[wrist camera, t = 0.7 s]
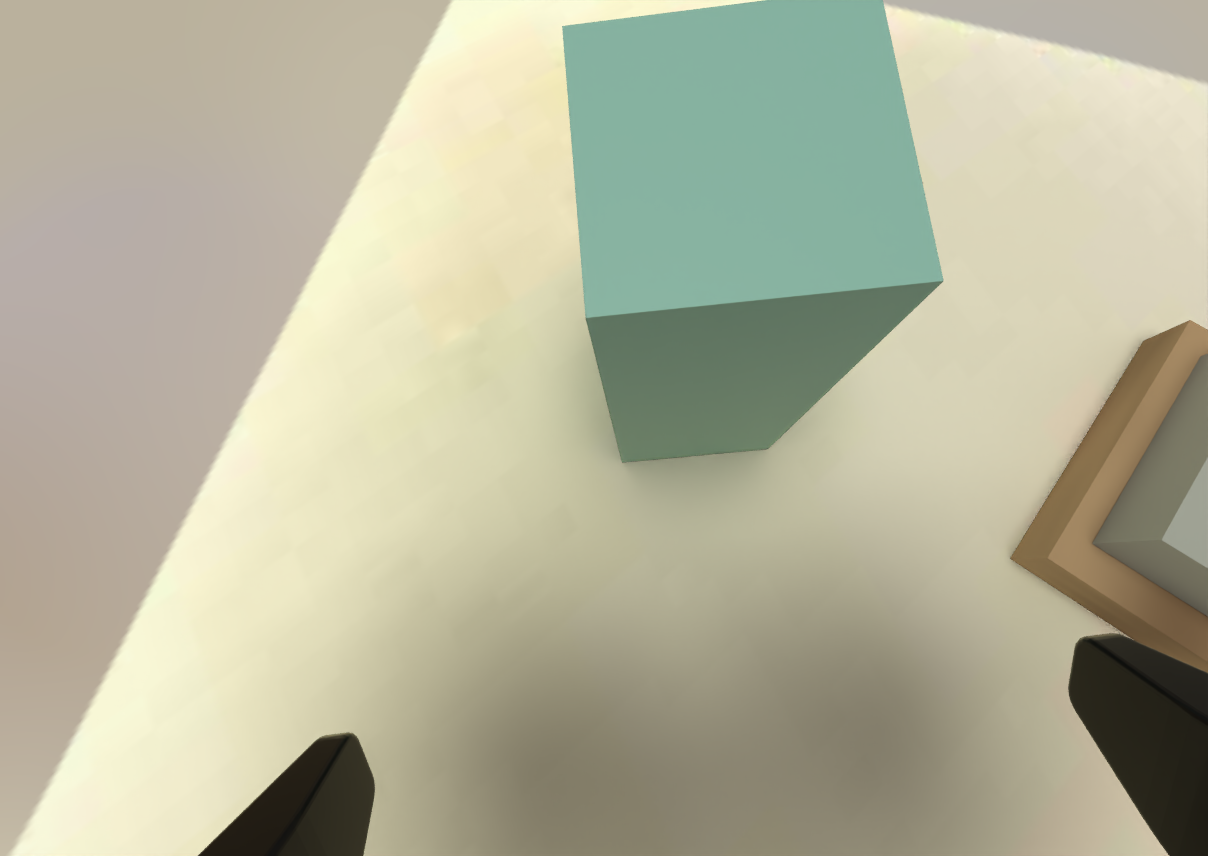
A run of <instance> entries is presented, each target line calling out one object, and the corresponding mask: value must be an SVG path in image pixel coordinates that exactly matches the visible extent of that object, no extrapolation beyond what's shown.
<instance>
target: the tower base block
mask: <svg viewBox="0 0 1208 856" xmlns="http://www.w3.org/2000/svg"><path fill="white" fill-rule="evenodd" d="M1206 354H1208V330H1207V329H1205V328H1203V327H1202V326H1200V325H1198V324H1196V323H1194V322H1193V321H1191V320H1189V321H1187V322H1185V323H1183V324H1180V325H1178V326H1176V327H1174V328H1171V329H1169V330H1167V331H1165V332H1162V333H1160V334H1158V335H1156V336H1154V337H1151V338H1149V339H1147V340H1145V341H1143V343H1142V344H1141V346H1140V347H1139V349H1138V351H1137V352H1136V354H1135V356H1134V357H1133V359H1132V361H1131V362H1130V364H1129V365H1128V367H1127V369H1126V370H1125V372H1124V374H1123V375H1122V377H1121V378H1120V380H1119V382H1118V383H1117V385H1116V387H1115V388H1114V390H1113V392H1112V393H1111V395H1110V396H1109V398H1108V400H1107V401H1106V403H1105V405H1104V406H1103V408H1102V410H1101V411H1100V413H1099V414H1098V416H1097V418H1096V419H1095V421H1094V423H1093V424H1092V426H1091V428H1090V429H1089V431H1088V432H1087V434H1086V436H1085V437H1084V439H1083V441H1082V442H1081V444H1080V445H1079V447H1078V449H1077V450H1076V452H1075V454H1074V455H1073V457H1072V459H1071V460H1070V462H1069V463H1068V465H1067V467H1066V468H1065V470H1064V472H1063V473H1062V475H1061V477H1060V478H1059V480H1058V481H1057V483H1056V485H1055V486H1054V488H1053V490H1052V491H1051V493H1050V494H1049V496H1048V498H1047V499H1046V501H1045V503H1044V504H1043V506H1042V508H1041V509H1040V511H1039V512H1038V514H1037V516H1036V517H1035V519H1034V521H1033V522H1032V524H1031V526H1030V527H1029V529H1028V530H1027V532H1026V534H1025V535H1024V537H1023V539H1022V540H1021V542H1020V543H1019V545H1018V547H1017V548H1016V550H1015V552H1014V553H1013V555H1012V557H1011V558H1010V559H1012V560H1013V561H1015V562H1016V563H1018V564H1019V565H1021V566H1022V567H1024V568H1025V569H1027V570H1028V571H1030V572H1031V573H1033V574H1034V575H1036V576H1038V577H1039V578H1041V579H1042V580H1044V581H1045V582H1047V583H1048V584H1050V585H1051V586H1053V587H1054V588H1056V589H1057V590H1059V591H1060V592H1062V593H1063V594H1065V595H1067V596H1068V597H1070V598H1071V599H1073V600H1074V601H1076V602H1077V603H1079V604H1080V605H1082V606H1083V607H1085V608H1086V609H1088V610H1089V611H1091V612H1092V613H1094V614H1095V615H1097V616H1099V617H1100V618H1102V619H1103V620H1105V621H1106V622H1108V623H1109V624H1111V625H1112V626H1114V627H1115V628H1117V629H1118V630H1120V631H1121V632H1123V633H1124V634H1126V635H1128V636H1129V637H1131V638H1132V639H1134V640H1135V641H1137V642H1139V643H1141V644H1144V645H1146V646H1148V647H1150V648H1153V649H1155V650H1157V651H1159V652H1162V653H1164V654H1166V655H1169V656H1171V657H1173V658H1175V659H1178V660H1180V661H1182V662H1185V663H1187V664H1189V665H1191V666H1194V667H1196V668H1198V669H1200V670H1203V671H1205V672H1207V673H1208V616H1206V615H1204V614H1203V613H1201V612H1200V611H1198V610H1197V609H1195V608H1193V607H1192V606H1190V605H1189V604H1187V603H1185V602H1184V601H1182V600H1181V599H1179V598H1177V597H1176V596H1174V595H1173V594H1171V593H1170V592H1168V591H1166V590H1165V589H1163V588H1162V587H1160V586H1158V585H1157V584H1155V583H1154V582H1152V581H1151V580H1149V579H1147V578H1146V577H1144V576H1143V575H1141V574H1139V573H1138V572H1136V571H1135V570H1133V569H1131V568H1130V567H1128V566H1127V565H1125V564H1124V563H1122V562H1120V561H1119V560H1117V559H1116V558H1114V557H1112V556H1111V555H1109V554H1108V553H1106V552H1104V551H1103V550H1101V549H1100V548H1098V547H1097V546H1095V545H1093V544H1092V543H1093V541H1094V540H1095V538H1096V536H1097V534H1098V533H1099V531H1100V529H1101V527H1102V526H1103V524H1104V522H1105V521H1106V519H1107V517H1108V515H1109V514H1110V512H1111V510H1112V508H1113V507H1114V505H1115V503H1116V502H1117V500H1118V498H1119V496H1120V495H1121V493H1122V491H1123V489H1124V488H1125V486H1126V484H1127V483H1128V481H1129V479H1130V477H1131V476H1132V474H1133V472H1134V470H1135V469H1136V467H1137V465H1138V464H1139V462H1140V460H1141V458H1142V457H1143V455H1144V453H1145V451H1146V450H1147V448H1148V446H1149V445H1150V443H1151V441H1152V439H1153V438H1154V436H1155V434H1156V432H1157V431H1158V429H1159V427H1160V426H1161V424H1162V422H1163V420H1164V419H1165V417H1166V415H1167V413H1168V412H1169V410H1170V408H1171V407H1172V405H1173V403H1174V401H1175V400H1176V398H1177V396H1178V394H1179V393H1180V391H1181V389H1182V388H1183V386H1184V384H1185V382H1186V381H1187V379H1188V377H1189V375H1190V374H1191V372H1192V370H1193V369H1194V367H1195V365H1196V363H1197V362H1198V360H1199V358H1200V357H1201V356H1203V355H1206Z"/></svg>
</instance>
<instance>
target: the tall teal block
mask: <svg viewBox="0 0 1208 856" xmlns="http://www.w3.org/2000/svg"><path fill="white" fill-rule="evenodd" d="M562 28H563V41H564V53H565V66H566V78H567V91H568V103H569V115H570V128H571V140H572V153H573V165H574V178H575V190H576V203H577V215H578V228H579V240H580V253H581V265H582V278H583V290H584V303H585V315H586V321H587V325H588V329H589V333H590V337H591V341H592V345H593V349H594V353H595V357H596V361H597V365H598V369H599V373H600V377H601V381H602V385H603V389H604V393H605V397H606V401H607V405H608V408H609V412H610V416H611V420H612V424H613V428H614V432H615V436H616V440H617V444H618V448H619V452H620V456H621V460H622V462H632V461H643V460H654V459H665V458H676V457H687V456H698V455H709V454H720V453H730V452H741V451H752V450H763V449H768V448H769V447H770V446H771V445H772V444H774V443H775V442H776V441H777V440H778V439H779V438H780V437H781V436H782V435H783V434H784V433H785V432H786V431H787V430H788V429H789V428H790V427H791V426H792V425H793V424H794V423H795V422H797V421H798V420H799V419H800V418H801V417H802V416H803V415H804V414H805V413H806V412H807V411H808V410H809V409H810V408H811V407H812V406H813V405H814V404H815V403H816V402H817V401H818V400H820V399H821V398H822V397H823V396H824V395H825V394H826V393H827V392H828V391H829V390H830V389H831V388H832V387H833V386H834V385H835V384H836V383H837V382H838V381H839V380H840V379H841V378H843V377H844V376H845V375H846V374H847V373H848V372H849V371H850V370H851V369H852V368H853V367H854V366H855V365H856V364H857V363H858V362H859V361H860V360H861V359H862V358H863V357H864V356H866V355H867V354H868V353H869V352H870V351H871V350H872V349H873V348H874V347H875V346H876V345H877V344H878V343H879V342H880V341H881V340H882V339H883V338H884V337H885V336H886V335H887V334H889V333H890V332H891V331H892V330H893V329H894V328H895V327H896V326H897V325H898V324H899V323H900V322H901V321H902V320H903V319H904V318H905V317H906V316H907V315H908V314H909V313H910V312H912V311H913V310H914V309H915V308H916V307H917V306H918V305H919V304H920V303H921V302H922V301H923V300H924V299H925V298H926V297H927V296H928V295H929V294H930V293H931V292H932V291H934V290H935V289H936V288H937V287H938V286H939V285H940V284H941V283H942V282H943V276H942V272H941V267H940V262H939V258H938V253H937V248H936V244H935V239H934V235H933V230H932V225H931V221H930V216H929V212H928V207H927V202H926V198H925V193H924V189H923V184H922V179H921V175H920V170H919V165H918V161H917V156H916V152H915V147H914V142H913V138H912V133H911V129H910V124H909V119H908V115H907V110H906V106H905V101H904V96H903V92H902V87H901V82H900V78H899V73H898V69H897V64H896V59H895V55H894V50H893V46H892V41H891V36H890V32H889V27H888V23H887V18H886V13H885V9H884V4H883V0H765V1H757V2H749V3H742V4H734V5H726V6H718V7H710V8H702V9H694V10H686V11H678V12H671V13H663V14H655V15H647V16H639V17H631V18H623V19H615V20H607V21H600V22H592V23H584V24H576V25H568V26H562Z"/></svg>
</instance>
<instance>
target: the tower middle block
mask: <svg viewBox="0 0 1208 856" xmlns="http://www.w3.org/2000/svg"><path fill="white" fill-rule="evenodd" d="M1092 544H1093V545H1095V546H1097V547H1098V548H1100V549H1101V550H1103V551H1104V552H1106V553H1108V554H1109V555H1111V556H1112V557H1114V558H1116V559H1117V560H1119V561H1120V562H1122V563H1124V564H1125V565H1127V566H1128V567H1130V568H1131V569H1133V570H1135V571H1136V572H1138V573H1139V574H1141V575H1143V576H1144V577H1146V578H1147V579H1149V580H1151V581H1152V582H1154V583H1155V584H1157V585H1158V586H1160V587H1162V588H1163V589H1165V590H1166V591H1168V592H1170V593H1171V594H1173V595H1174V596H1176V597H1177V598H1179V599H1181V600H1182V601H1184V602H1185V603H1187V604H1189V605H1190V606H1192V607H1193V608H1195V609H1197V610H1198V611H1200V612H1201V613H1203V614H1204V615H1206V616H1208V354H1206V355H1203V356H1201V357H1200V358H1199V360H1198V362H1197V363H1196V365H1195V367H1194V369H1193V370H1192V372H1191V374H1190V375H1189V377H1188V379H1187V381H1186V382H1185V384H1184V386H1183V388H1182V389H1181V391H1180V393H1179V394H1178V396H1177V398H1176V400H1175V401H1174V403H1173V405H1172V407H1171V408H1170V410H1169V412H1168V413H1167V415H1166V417H1165V419H1164V420H1163V422H1162V424H1161V426H1160V427H1159V429H1158V431H1157V432H1156V434H1155V436H1154V438H1153V439H1152V441H1151V443H1150V445H1149V446H1148V448H1147V450H1146V451H1145V453H1144V455H1143V457H1142V458H1141V460H1140V462H1139V464H1138V465H1137V467H1136V469H1135V470H1134V472H1133V474H1132V476H1131V477H1130V479H1129V481H1128V483H1127V484H1126V486H1125V488H1124V489H1123V491H1122V493H1121V495H1120V496H1119V498H1118V500H1117V502H1116V503H1115V505H1114V507H1113V508H1112V510H1111V512H1110V514H1109V515H1108V517H1107V519H1106V521H1105V522H1104V524H1103V526H1102V527H1101V529H1100V531H1099V533H1098V534H1097V536H1096V538H1095V540H1094V541H1093V543H1092Z"/></svg>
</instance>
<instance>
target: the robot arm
mask: <svg viewBox="0 0 1208 856" xmlns="http://www.w3.org/2000/svg"><path fill="white" fill-rule="evenodd" d="M1068 690H1069V697H1070V700H1071V703H1072V705H1073V707H1074V709H1075V711H1076V713H1077V714H1078V716H1079V718H1080V719H1081V721H1082V722H1083V724H1084V725H1085V727H1086V729H1087V730H1088V732H1089V733H1090V735H1091V736H1092V738H1093V740H1094V741H1095V743H1096V744H1097V746H1098V748H1099V749H1100V751H1101V752H1102V754H1103V755H1104V757H1105V759H1106V760H1107V762H1108V763H1109V765H1110V767H1111V768H1112V770H1113V771H1114V773H1115V774H1116V776H1117V778H1118V779H1119V781H1120V782H1121V784H1122V785H1123V787H1124V789H1125V790H1126V792H1127V793H1128V795H1129V797H1130V798H1131V800H1132V801H1133V803H1134V804H1135V806H1136V808H1137V809H1138V811H1139V812H1140V814H1141V816H1142V817H1143V819H1144V820H1145V822H1146V823H1147V825H1148V826H1149V828H1150V829H1151V831H1152V832H1153V834H1154V835H1155V837H1156V838H1157V839H1158V841H1159V842H1160V844H1161V845H1162V846H1163V848H1164V849H1165V850H1166V852H1167V853H1168V855H1169V856H1208V673H1207V672H1205V671H1203V670H1200V669H1198V668H1196V667H1194V666H1191V665H1189V664H1187V663H1185V662H1182V661H1180V660H1178V659H1175V658H1173V657H1171V656H1169V655H1166V654H1164V653H1162V652H1159V651H1157V650H1155V649H1153V648H1150V647H1148V646H1146V645H1144V644H1141V643H1139V642H1137V641H1134V640H1132V639H1130V638H1128V637H1125V636H1123V635H1120V634H1113V633H1109V634H1102V635H1094V636H1086V637H1083V638H1080V639H1079V641H1078V642H1077V643H1076V645H1075V649H1074V655H1073V661H1072V667H1071V673H1070V679H1069V686H1068ZM374 793H375V784H374V778H373V774H372V772H371V769H370V767H369V764H368V762H367V759H366V757H365V754H364V752H363V749H362V747H361V745H360V742H359V740H358V738H357V736H355V735H354V734H353V733H349V732H348V733H340V734H333V735H325V736H322V737H320V738H319V739H317V740H316V741H315V742H314V743H313V744H312V745H311V746H310V747H309V748H308V749H306V750H305V751H304V752H303V753H302V754H301V755H300V756H299V757H298V758H297V759H296V760H295V761H294V762H293V763H292V764H291V765H290V766H289V767H288V768H287V769H286V770H285V771H284V772H283V773H282V774H281V775H280V776H279V777H278V778H277V779H276V780H275V781H274V782H273V783H272V784H271V785H270V786H269V787H268V788H267V789H266V790H265V791H264V792H262V793H261V794H260V795H259V796H258V797H257V798H256V799H255V800H254V801H253V802H252V803H251V804H250V805H249V806H248V807H247V808H246V809H245V810H244V811H243V812H242V813H241V814H240V815H239V816H238V817H237V818H236V819H235V820H234V821H233V822H232V823H231V824H230V825H229V826H228V827H227V828H226V829H225V830H224V831H223V832H222V833H221V834H219V835H218V836H217V837H216V838H215V839H214V840H213V841H212V842H211V843H210V844H209V845H208V846H207V847H206V848H205V849H204V850H203V851H202V852H201V853H200V854H199V855H198V856H363V855H364V849H365V844H366V839H367V833H368V828H369V823H370V817H371V812H372V806H373V801H374Z"/></svg>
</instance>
